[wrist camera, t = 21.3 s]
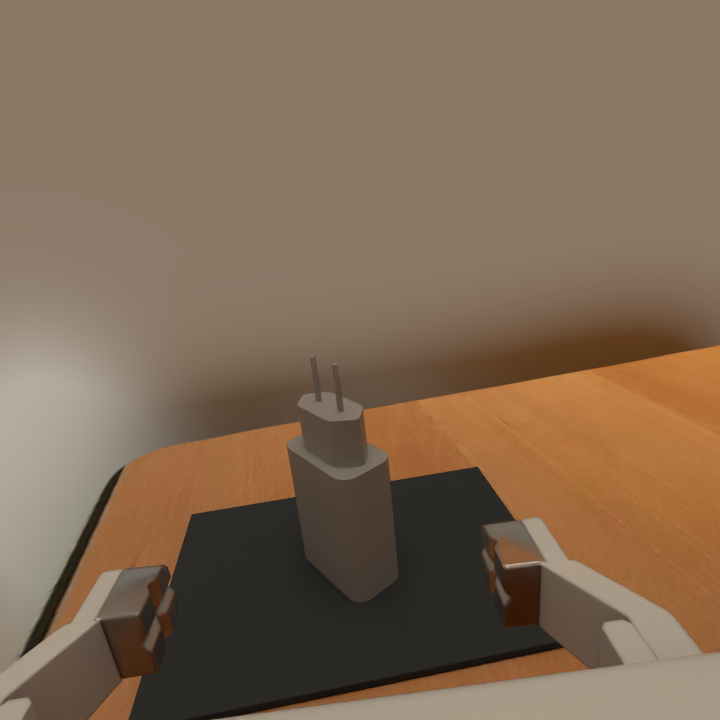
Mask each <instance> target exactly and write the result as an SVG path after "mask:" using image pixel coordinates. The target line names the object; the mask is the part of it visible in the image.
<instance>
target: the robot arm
mask: <svg viewBox="0 0 720 720" xmlns="http://www.w3.org/2000/svg"><path fill="white" fill-rule="evenodd" d="M481 540H482V542H483V544H484V549H483V550H482V551H481V562H482V568H483V574H484V578H485V581H486V584H487V587H488V589H489V591H490V592H492V593H493V594H495V606H496V609H497V611H498V614H499V616H500V619H501V621H502V623H503V626H504V628H507V627H517V626H527V625H537V624H539V626H540V627H541V628H542V629H543V630H544V631H546V632H547V633H548V634H549V635H550V636H551V637H553V638H554V639H555V640H556V641H557V642H558V643H560V644H561V645H562V646H563V647H564V648H565V649H567V650H568V651H569V652H570V653H571V654H572V655H574V656H575V657H576V658H577V659H578V660H579V661H581V662H582V663H583V664H584V665H585V666H586V667H588V668H589V669H587V670H579V671H572V672H564V673H557V674H549V675H542V676H534V677H527V678H520V679H512V680H505V681H498V682H490V683H483V684H476V685H468V686H461V687H453V688H445V689H438V690H430V691H423V692H415V693H407V694H400V695H392V696H385V697H377V698H369V699H362V700H354V701H347V702H339V703H332V704H325V705H317V706H310V707H302V708H295V709H287V710H280V711H273V712H265V713H258V714H250V715H243V716H235V717H228V718H220V719H213V720H720V652H714V653H706V654H704V653H703V652H702V651H701V649H700V648H699V647H698V646H697V645H696V643H695V642H694V641H693V640H692V638H691V637H690V636H689V635H688V633H687V632H686V631H685V630H684V629H683V627H682V626H681V625H680V624H679V622H678V621H677V620H676V619H675V618H674V616H673V615H672V614H671V613H670V612H669V611H667V610H665V609H664V608H662V607H660V606H658V605H656V604H654V603H653V602H651V601H649V600H647V599H645V598H643V597H642V596H640V595H638V594H636V593H634V592H633V591H631V590H629V589H627V588H625V587H623V586H622V585H620V584H618V583H616V582H614V581H613V580H611V579H609V578H607V577H605V576H603V575H602V574H600V573H598V572H596V571H594V570H592V569H591V568H589V567H587V566H585V565H583V564H582V563H580V562H578V561H576V560H569V559H568V558H567V556H566V555H565V553H564V552H563V550H562V549H561V547H560V546H559V544H558V543H557V541H556V540H555V538H554V537H553V535H552V534H551V532H550V531H549V529H548V528H547V526H546V525H545V523H544V522H543V520H542V519H541V518H539V517H534V518H527V519H521V520H517V521H509V522H502V523H494V524H487V525H482V526H481ZM170 578H171V576H170V573H169V570H168V567H167V566H165V565H157V566H147V567H137V568H127V569H121V570H111V571H105V572H104V573H102V574H101V575H100V576H99V578H98V580H97V581H96V583H95V585H94V586H93V588H92V590H91V591H90V593H89V594H88V596H87V598H86V599H85V601H84V603H83V604H82V606H81V608H80V609H79V611H78V613H77V614H76V616H75V618H74V619H73V621H72V623H71V624H67V625H64V626H62V627H61V628H60V629H58V630H57V631H56V632H54V633H53V634H52V635H50V636H49V637H48V638H46V639H45V640H44V641H43V642H41V643H40V644H39V645H37V646H36V647H35V648H33V649H32V650H31V651H29V652H28V653H27V654H25V655H24V656H23V657H21V658H20V659H19V660H17V661H16V662H15V663H14V664H12V665H11V666H10V667H9V668H7V669H6V670H4V671H3V672H2V673H0V720H88V719H89V718H90V716H91V715H92V714H93V713H94V712H95V711H96V710H97V708H98V707H99V706H100V705H101V704H102V703H103V702H104V701H105V699H106V698H107V697H108V696H109V695H110V694H111V693H112V692H113V690H114V689H115V688H116V687H117V686H118V685H119V684H120V683H121V681H122V680H121V679H124V678H130V677H137V676H143V675H149V674H155V673H158V672H159V669H160V666H161V663H162V661H163V658H164V655H165V652H166V650H167V645H166V642H165V639H166V638H167V637H168V636H169V635H170V634H171V633H172V632H173V630H174V627H175V624H176V621H177V612H178V603H177V596H176V593H175V590H173V589H172V588H171V587H169V586H168V583H169V580H170Z"/></svg>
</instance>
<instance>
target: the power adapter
mask: <svg viewBox="0 0 720 720" xmlns="http://www.w3.org/2000/svg"><path fill="white" fill-rule="evenodd" d="M310 360H311V367H312V378H313V385H314V392H315V393H309V394H305V395H303V396H302V398H301V399H300V401H299V402H298V410H299V415H300V422H301V429H302V435H300V436H298V437H295V438H293V439H291V440H290V441H289V442H288V443H287V449H288V455H289V461H290V467H291V473H292V479H293V484H294V490H295V496H296V502H297V508H298V514H299V520H300V526H301V531H302V537H303V543H304V549H305V555H306V558H307V559H308V560H309V561H310V562H311V563H312V564H313V565H314V566H315V567H316V568H317V569H318V570H319V571H320V572H321V573H322V574H323V575H324V576H326V577H327V578H328V579H329V580H330V581H331V582H332V583H333V584H334V585H335V586H336V587H337V588H338V589H339V590H340V591H342V592H343V593H344V594H345V595H346V596H347V597H348V598H349V599H350V600H352V601H354V602H357V603H363V602H367V601H369V600H371V599H372V598H374V597H375V596H376V595H378V594H379V593H380V592H382V591H383V590H384V589H386V588H387V587H388V586H390V585H391V584H392V583H394V582H395V581H396V580H397V578H398V575H399V572H398V561H397V550H396V539H395V528H394V517H393V506H392V495H391V484H390V474H389V463H388V454H387V453H386V452H385V451H383V450H381V449H380V448H378V447H376V446H374V445H372V444H370V443H368V442H367V441H366V432H365V423H364V413H363V407H362V406H361V405H359V404H357V403H355V402H353V401H350V400H348V399H346V398H343V397H342V390H341V383H340V378H339V370H338V364H337V363H334V364H332V367H333V375H334V388H335V394H333V393H330V392H321V391H320V383H319V376H318V373H317V365H316V358H315V356H314V355H312V356H310Z"/></svg>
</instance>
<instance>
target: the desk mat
mask: <svg viewBox="0 0 720 720" xmlns="http://www.w3.org/2000/svg"><path fill="white" fill-rule="evenodd" d="M390 484H391V495H392V506H393V517H394V528H395V539H396V550H397V561H398V572H399V575H398V578H397V580H396V581H395V582H394V583H392V584H391V585H390V586H388V587H387V588H386V589H384V590H383V591H382V592H380V593H379V594H378V595H376V596H375V597H374V598H372V599H371V600H369V601H367V602H363V603H357V602H354V601H352V600H350V599H349V598H348V597H347V596H346V595H345V594H344V593H343V592H342V591H340V590H339V589H338V588H337V587H336V586H335V585H334V584H333V583H332V582H331V581H330V580H329V579H328V578H327V577H326V576H324V575H323V574H322V573H321V572H320V571H319V570H318V569H317V568H316V567H315V566H314V565H313V564H312V563H311V562H310V561H309V560H308V559H307V558H306V555H305V549H304V543H303V537H302V531H301V526H300V520H299V514H298V508H297V502H296V497H293V498H287V499H281V500H275V501H269V502H263V503H257V504H251V505H245V506H239V507H233V508H227V509H221V510H215V511H209V512H203V513H197V514H192V515H191V519H190V522H189V525H188V528H187V532H186V535H185V538H184V541H183V545H182V548H181V551H180V554H179V558H178V561H177V564H176V567H175V571H174V574H173V577H172V580H171V584H170V587H171V588H172V589H173V590H175V593H176V596H177V603H178V612H177V621H176V624H175V627H174V630H173V632H172V633H171V634H170V635H169V636H168V637H167V638H166V639H165V642H166V645H167V650H166V652H165V655H164V658H163V661H162V663H161V666H160V669H159V672H158V673H155V674H149V675H143V676H142V678H141V681H140V685H139V688H138V691H137V694H136V698H135V701H134V704H133V707H132V711H131V714H130V717H129V720H213V719H220V718H225V717H230V716H235V715H240V714H244V713H249V712H254V711H259V710H263V709H268V708H273V707H278V706H283V705H287V704H292V703H297V702H302V701H306V700H311V699H316V698H321V697H325V696H330V695H335V694H340V693H344V692H349V691H354V690H359V689H364V688H368V687H373V686H378V685H383V684H387V683H392V682H397V681H402V680H406V679H411V678H416V677H421V676H426V675H430V674H435V673H440V672H445V671H449V670H454V669H459V668H464V667H468V666H473V665H478V664H483V663H487V662H492V661H497V660H502V659H507V658H511V657H516V656H521V655H526V654H530V653H535V652H540V651H545V650H549V649H554V648H559V647H563V646H562V645H561V644H560V643H558V642H557V641H556V640H555V639H554V638H553V637H551V636H550V635H549V634H548V633H547V632H546V631H544V630H543V629H542V628H541V627H540V626H539V624H537V625H527V626H517V627H507V628H504V626H503V623H502V621H501V619H500V616H499V614H498V611H497V609H496V606H495V594H493V593H492V592H490V591H489V589H488V587H487V584H486V581H485V578H484V574H483V568H482V562H481V551H482V550H483V549H484V544H483V542H482V540H481V526H482V525H487V524H494V523H502V522H509V521H515V519H514V518H513V516H512V515H511V514H510V512H509V511H508V509H507V508H506V507H505V505H504V504H503V502H502V501H501V499H500V498H499V497H498V495H497V494H496V492H495V491H494V489H493V488H492V487H491V485H490V484H489V482H488V481H487V480H486V478H485V477H484V475H483V474H482V472H481V471H480V470H479V468H478V467H473V468H467V469H461V470H455V471H449V472H443V473H437V474H431V475H425V476H419V477H413V478H407V479H401V480H395V481H390Z"/></svg>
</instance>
